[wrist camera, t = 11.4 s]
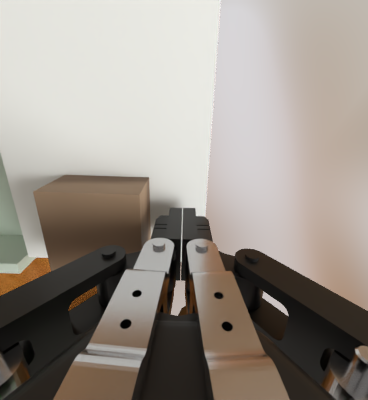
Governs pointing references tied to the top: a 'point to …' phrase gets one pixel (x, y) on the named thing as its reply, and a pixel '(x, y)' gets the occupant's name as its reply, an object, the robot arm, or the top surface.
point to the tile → (92, 215)
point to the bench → (107, 98)
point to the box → (10, 231)
